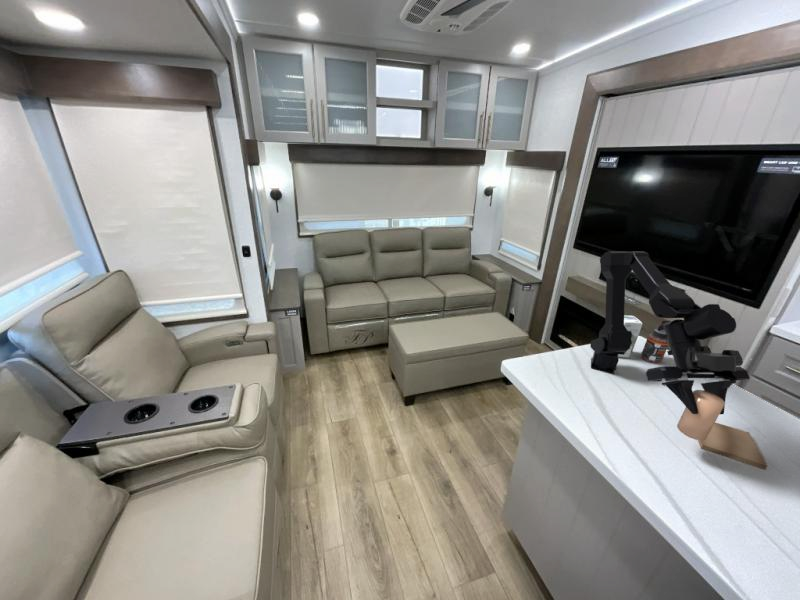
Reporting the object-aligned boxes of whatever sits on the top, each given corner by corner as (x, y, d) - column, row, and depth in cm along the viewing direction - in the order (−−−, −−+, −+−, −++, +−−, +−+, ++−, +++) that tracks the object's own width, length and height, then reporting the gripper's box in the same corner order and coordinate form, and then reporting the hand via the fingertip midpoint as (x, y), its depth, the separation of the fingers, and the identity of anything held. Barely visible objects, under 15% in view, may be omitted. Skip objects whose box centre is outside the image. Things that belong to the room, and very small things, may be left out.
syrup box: (621, 349, 115) (633, 314, 109) (630, 358, 109) (643, 322, 103) (605, 348, 115) (615, 314, 109) (613, 357, 110) (625, 321, 104)
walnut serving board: (700, 448, 75) (702, 444, 74) (690, 419, 83) (692, 415, 83) (765, 469, 69) (767, 465, 69) (746, 435, 78) (748, 432, 78)
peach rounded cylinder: (680, 435, 71) (697, 401, 67) (674, 419, 75) (689, 387, 71) (709, 443, 69) (729, 409, 65) (702, 427, 73) (719, 394, 69)
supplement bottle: (655, 365, 105) (667, 337, 101) (636, 357, 110) (647, 329, 106) (665, 361, 108) (676, 332, 103) (646, 352, 113) (656, 325, 108)
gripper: (673, 335, 66) (697, 413, 61) (761, 336, 66) (794, 414, 60) (636, 347, 77) (654, 413, 71) (713, 347, 76) (737, 414, 71)
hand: (708, 414), depth 68 cm, fingers closed on peach rounded cylinder, 5 cm apart
